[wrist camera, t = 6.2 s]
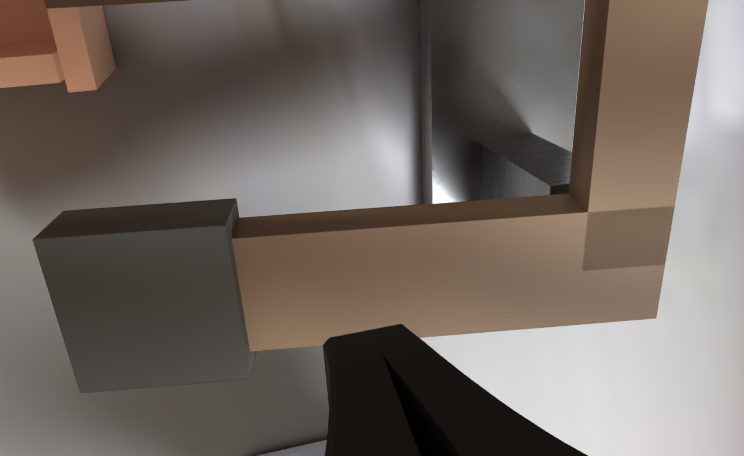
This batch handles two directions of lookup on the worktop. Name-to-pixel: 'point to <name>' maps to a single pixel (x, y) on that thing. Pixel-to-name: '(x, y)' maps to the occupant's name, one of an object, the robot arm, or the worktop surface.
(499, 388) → the worktop surface
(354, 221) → the wooden tray
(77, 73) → the open box
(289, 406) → the worktop surface
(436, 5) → the stand
